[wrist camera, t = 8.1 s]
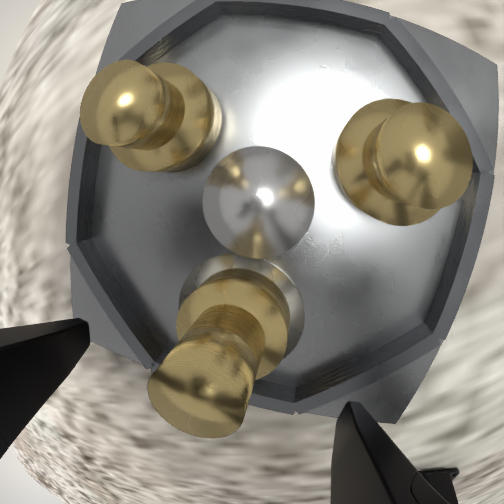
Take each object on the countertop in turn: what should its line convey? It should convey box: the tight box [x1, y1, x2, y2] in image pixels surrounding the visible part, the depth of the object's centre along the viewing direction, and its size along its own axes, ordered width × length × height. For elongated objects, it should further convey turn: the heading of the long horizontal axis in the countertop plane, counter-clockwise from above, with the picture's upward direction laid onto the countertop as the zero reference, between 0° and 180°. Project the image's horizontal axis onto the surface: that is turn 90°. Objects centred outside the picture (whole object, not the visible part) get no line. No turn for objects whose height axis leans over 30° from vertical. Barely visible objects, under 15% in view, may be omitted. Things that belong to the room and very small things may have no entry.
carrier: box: [66, 0, 499, 424], centre depth 10 cm, size 20×20×6 cm
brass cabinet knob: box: [148, 268, 290, 438], centre depth 10 cm, size 4×4×6 cm
